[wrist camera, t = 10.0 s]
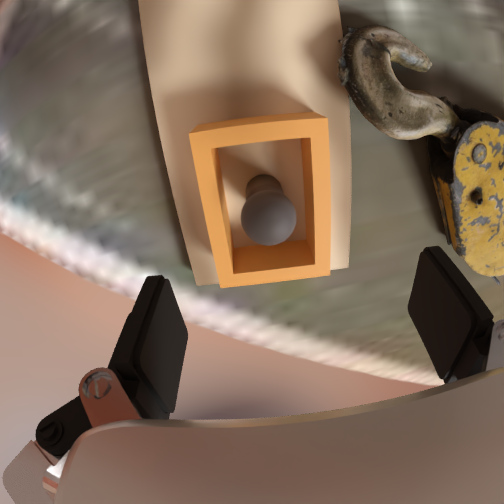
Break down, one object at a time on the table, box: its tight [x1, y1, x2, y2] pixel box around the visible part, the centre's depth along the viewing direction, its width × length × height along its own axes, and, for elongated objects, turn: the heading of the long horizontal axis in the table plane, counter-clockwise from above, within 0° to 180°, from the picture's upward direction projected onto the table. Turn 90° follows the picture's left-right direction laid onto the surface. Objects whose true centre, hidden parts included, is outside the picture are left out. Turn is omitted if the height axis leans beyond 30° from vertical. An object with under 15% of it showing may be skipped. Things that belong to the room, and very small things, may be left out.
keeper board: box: [138, 0, 351, 286], centre depth 14 cm, size 12×30×7 cm, turn 7°
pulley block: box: [337, 25, 504, 285], centre depth 18 cm, size 14×6×30 cm
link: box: [189, 112, 331, 288], centre depth 18 cm, size 7×10×3 cm
